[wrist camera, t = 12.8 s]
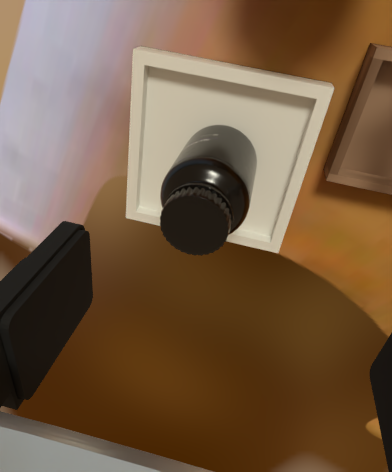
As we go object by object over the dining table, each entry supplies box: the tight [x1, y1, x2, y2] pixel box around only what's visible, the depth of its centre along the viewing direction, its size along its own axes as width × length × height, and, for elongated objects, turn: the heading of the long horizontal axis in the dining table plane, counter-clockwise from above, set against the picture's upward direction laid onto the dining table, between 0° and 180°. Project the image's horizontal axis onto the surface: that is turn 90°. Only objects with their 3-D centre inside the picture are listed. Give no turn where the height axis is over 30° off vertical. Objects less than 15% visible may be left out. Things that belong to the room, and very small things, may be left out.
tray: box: [126, 46, 334, 253], centre depth 34 cm, size 16×16×2 cm
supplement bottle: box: [160, 125, 257, 255], centre depth 29 cm, size 7×7×12 cm
